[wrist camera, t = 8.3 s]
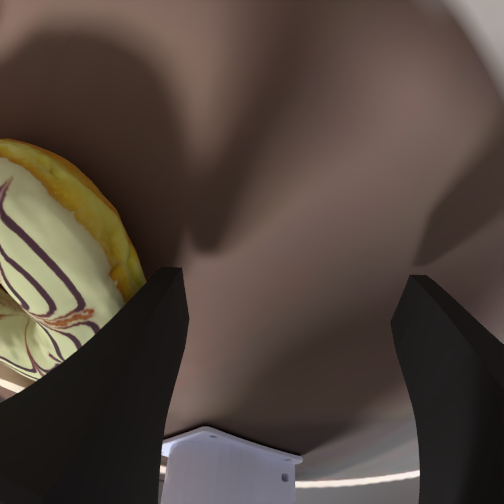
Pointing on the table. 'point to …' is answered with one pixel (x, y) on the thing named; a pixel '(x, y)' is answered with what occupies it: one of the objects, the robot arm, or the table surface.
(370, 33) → the table surface
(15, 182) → the decorated donut
